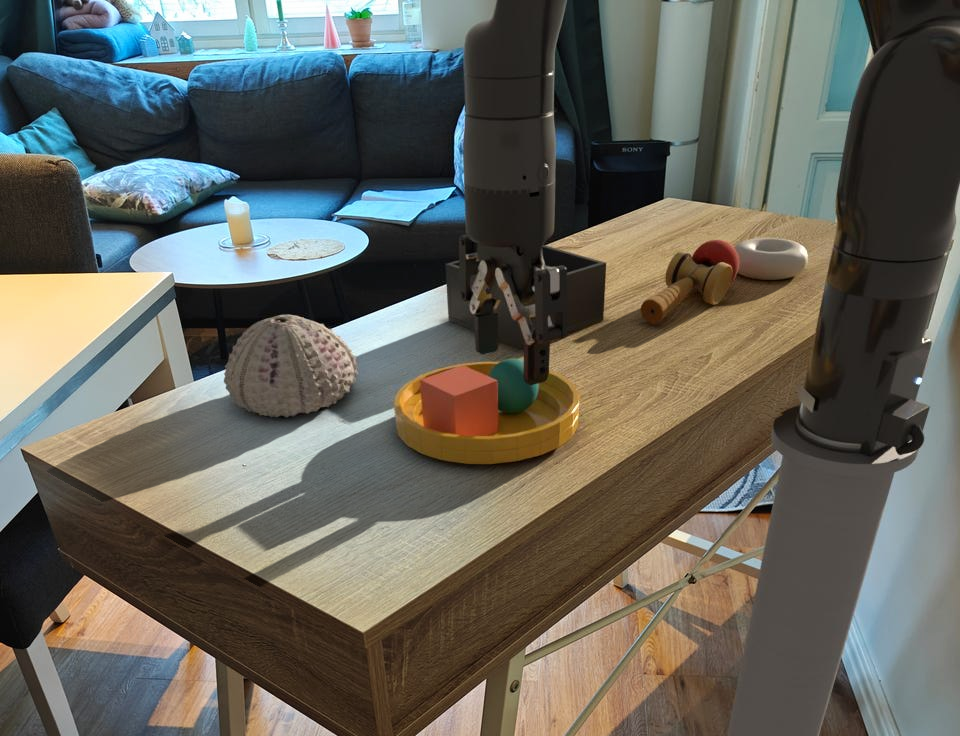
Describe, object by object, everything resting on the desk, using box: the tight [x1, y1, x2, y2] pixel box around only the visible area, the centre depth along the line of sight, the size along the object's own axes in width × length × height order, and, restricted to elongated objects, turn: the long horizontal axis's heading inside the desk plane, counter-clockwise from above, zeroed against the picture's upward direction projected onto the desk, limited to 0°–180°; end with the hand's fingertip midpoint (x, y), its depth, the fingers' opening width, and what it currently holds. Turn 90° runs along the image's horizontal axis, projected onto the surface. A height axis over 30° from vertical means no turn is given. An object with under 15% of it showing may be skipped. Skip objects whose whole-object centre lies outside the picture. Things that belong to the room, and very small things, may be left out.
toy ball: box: [488, 358, 539, 414], centre depth 84 cm, size 5×5×5 cm
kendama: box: [640, 239, 739, 326], centre depth 108 cm, size 8×6×18 cm
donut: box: [733, 237, 809, 281], centre depth 117 cm, size 10×4×10 cm
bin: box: [444, 244, 607, 350], centre depth 105 cm, size 13×13×7 cm
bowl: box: [393, 361, 580, 465], centre depth 84 cm, size 17×17×3 cm
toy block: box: [420, 365, 498, 436], centre depth 81 cm, size 5×5×5 cm
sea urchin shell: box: [223, 314, 359, 418], centre depth 89 cm, size 13×14×8 cm
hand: (510, 366), depth 83 cm, fingers open, 8 cm apart
